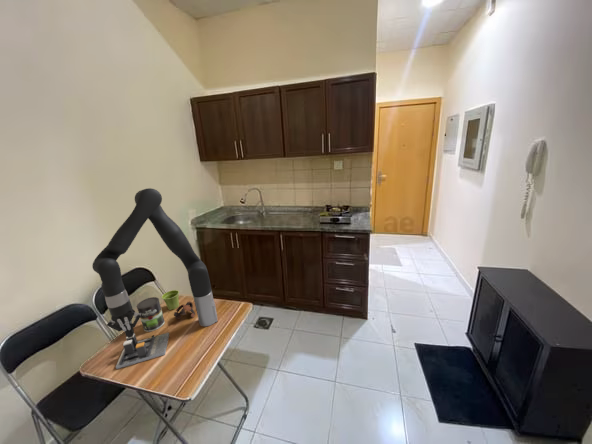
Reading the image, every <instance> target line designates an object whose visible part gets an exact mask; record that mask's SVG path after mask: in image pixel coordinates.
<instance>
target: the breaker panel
mask: <svg viewBox="0 0 592 444" xmlns="http://www.w3.org/2000/svg"><path fill="white" fill-rule="evenodd" d="M169 338H170V333H169V332H166V333H162V334H159V335H156V336H155V335H152V336H151V337H147V338H144V339H141V340H137V342H138V343H142V342H145V345H146V349H147V354H146V355H145V356H142V357H139V356H138V353H137V350H136V346H134V347H135V351H134V352H133V353H130V354H127V355H126V352H125V349H124V348H122V349H123V350H122V351H121V354H120V356H119V358H118V360H117V363H116V365H115V369H116V370H120V369H123V368H126V367H129V366H132V365H136V364H139V363H143V362H145V361H148V360H149V361H150V360H152V359H156V358H159V357H162V356H165V355H166V352H167V347H168V344H169ZM138 343H137V344H138Z"/></svg>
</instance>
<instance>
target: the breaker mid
mask: <svg viewBox="0 0 592 444" xmlns="http://www.w3.org/2000/svg"><path fill="white" fill-rule="evenodd" d="M122 346H123V349H125V352H126V355H127V354H130V353H133V352H134V351H135V347H134V344H133V341H132V340H128V341H127V340H125V341H123V344H122Z"/></svg>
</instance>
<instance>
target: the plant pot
mask: <svg viewBox="0 0 592 444" xmlns="http://www.w3.org/2000/svg"><path fill="white" fill-rule="evenodd" d="M179 294H180V291H179V290H177V289H171V290H170V291H167V292H165V293H163V294H162V296H161V299H162V300H163V301H164V303H165V305H166V308H167V309H168V310H169V311H171V310H175V309H176V310H177V308H178V307H179V306H180V300H179Z"/></svg>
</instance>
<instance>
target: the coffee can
mask: <svg viewBox="0 0 592 444" xmlns="http://www.w3.org/2000/svg"><path fill="white" fill-rule="evenodd" d="M136 309H137V313H139V312H141V313H142V314H141V316H140V318H139V320H140V322H141V325H142V329H143V331H144V332H148V333H150V332H154V331H156V330H158V329H160V328H161V327H162V326H164V324H165V323H166V321H165V317H164V315H163V310H162V306H161V303H160V298H159V297H157V296H156V297H155V296H153V297H148V298H145V299H143V300H141V301H139V302H138V303H137V304H136Z"/></svg>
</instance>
